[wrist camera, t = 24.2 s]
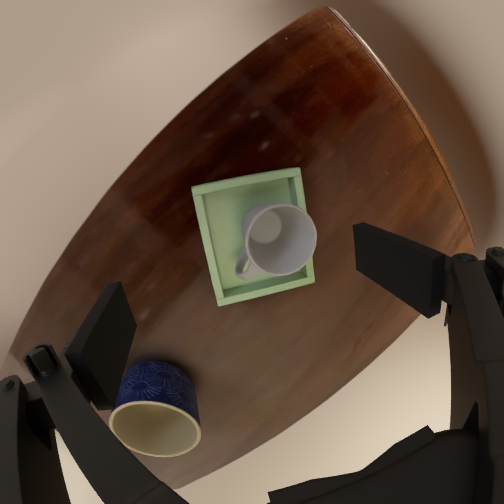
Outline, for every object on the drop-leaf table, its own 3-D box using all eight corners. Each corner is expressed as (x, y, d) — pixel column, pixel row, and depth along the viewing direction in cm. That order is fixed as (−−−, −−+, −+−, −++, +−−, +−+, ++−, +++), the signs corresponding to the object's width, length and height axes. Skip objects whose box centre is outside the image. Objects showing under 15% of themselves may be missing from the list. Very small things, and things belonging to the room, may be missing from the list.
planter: (212, 386, 44) (220, 436, 33) (159, 417, 44) (157, 465, 33) (159, 337, 39) (152, 386, 29) (105, 375, 40) (91, 423, 29)
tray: (191, 186, 35) (191, 187, 32) (292, 167, 37) (300, 167, 34) (216, 297, 40) (218, 306, 37) (306, 274, 41) (315, 282, 38)
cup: (303, 221, 38) (331, 235, 30) (254, 279, 39) (269, 307, 31) (260, 183, 36) (280, 187, 28) (209, 244, 37) (213, 266, 29)
